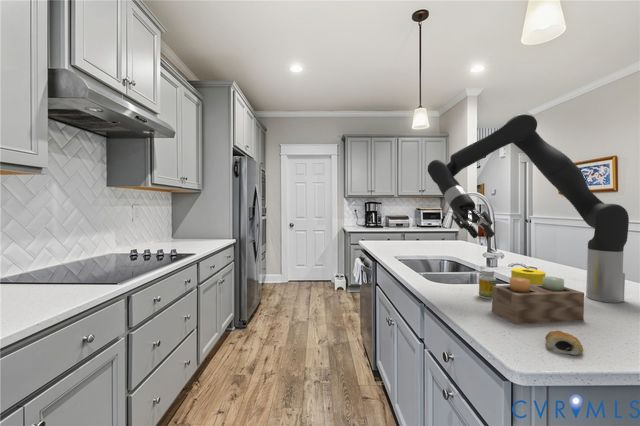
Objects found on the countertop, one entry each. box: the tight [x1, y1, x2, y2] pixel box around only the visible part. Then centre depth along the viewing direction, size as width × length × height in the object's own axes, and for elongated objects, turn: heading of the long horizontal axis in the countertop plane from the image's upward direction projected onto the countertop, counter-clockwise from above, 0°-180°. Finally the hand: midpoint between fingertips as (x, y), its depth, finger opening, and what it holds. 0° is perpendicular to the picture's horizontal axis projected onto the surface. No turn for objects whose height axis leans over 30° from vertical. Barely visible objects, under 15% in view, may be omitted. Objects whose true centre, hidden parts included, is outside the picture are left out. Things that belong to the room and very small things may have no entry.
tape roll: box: [510, 267, 546, 285], centre depth 111 cm, size 10×10×9 cm
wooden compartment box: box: [491, 284, 585, 325], centre depth 92 cm, size 21×10×8 cm, turn 97°
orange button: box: [509, 277, 530, 292], centre depth 91 cm, size 5×5×3 cm
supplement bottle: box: [478, 268, 497, 300], centre depth 111 cm, size 5×5×10 cm
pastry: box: [545, 330, 584, 356], centre depth 73 cm, size 9×7×4 cm
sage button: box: [543, 276, 565, 291], centre depth 93 cm, size 5×5×3 cm
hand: (484, 236), depth 104 cm, fingers open, 6 cm apart
